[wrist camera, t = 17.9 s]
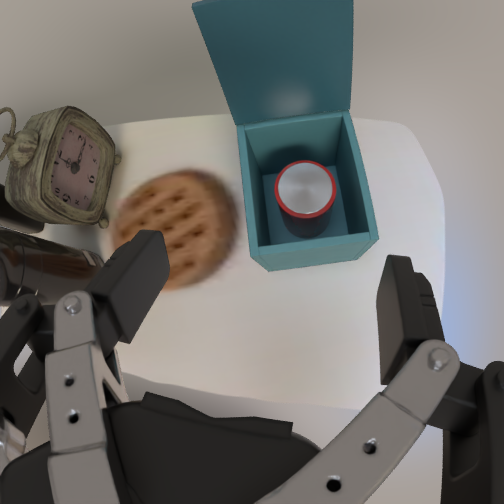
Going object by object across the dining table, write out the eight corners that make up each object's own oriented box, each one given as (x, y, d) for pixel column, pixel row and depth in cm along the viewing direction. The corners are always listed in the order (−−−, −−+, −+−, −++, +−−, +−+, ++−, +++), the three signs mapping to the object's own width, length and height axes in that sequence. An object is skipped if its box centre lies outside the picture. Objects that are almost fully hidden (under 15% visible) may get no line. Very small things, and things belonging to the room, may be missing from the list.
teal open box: (357, 259, 40) (379, 239, 27) (268, 271, 42) (250, 256, 29) (339, 162, 43) (348, 109, 30) (256, 173, 44) (236, 124, 31)
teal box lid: (353, -16, 16) (349, -19, 16) (191, 7, 18) (192, 3, 18) (350, 109, 29) (348, 104, 29) (235, 125, 31) (235, 119, 31)
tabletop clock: (113, 237, 47) (-15, 187, 22) (72, 235, 48) (-48, 192, 24) (130, 150, 49) (31, 64, 24) (89, 154, 50) (-10, 85, 26)
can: (316, 247, 41) (319, 228, 31) (273, 225, 42) (262, 200, 32) (338, 205, 41) (346, 175, 31) (295, 184, 42) (291, 149, 32)
